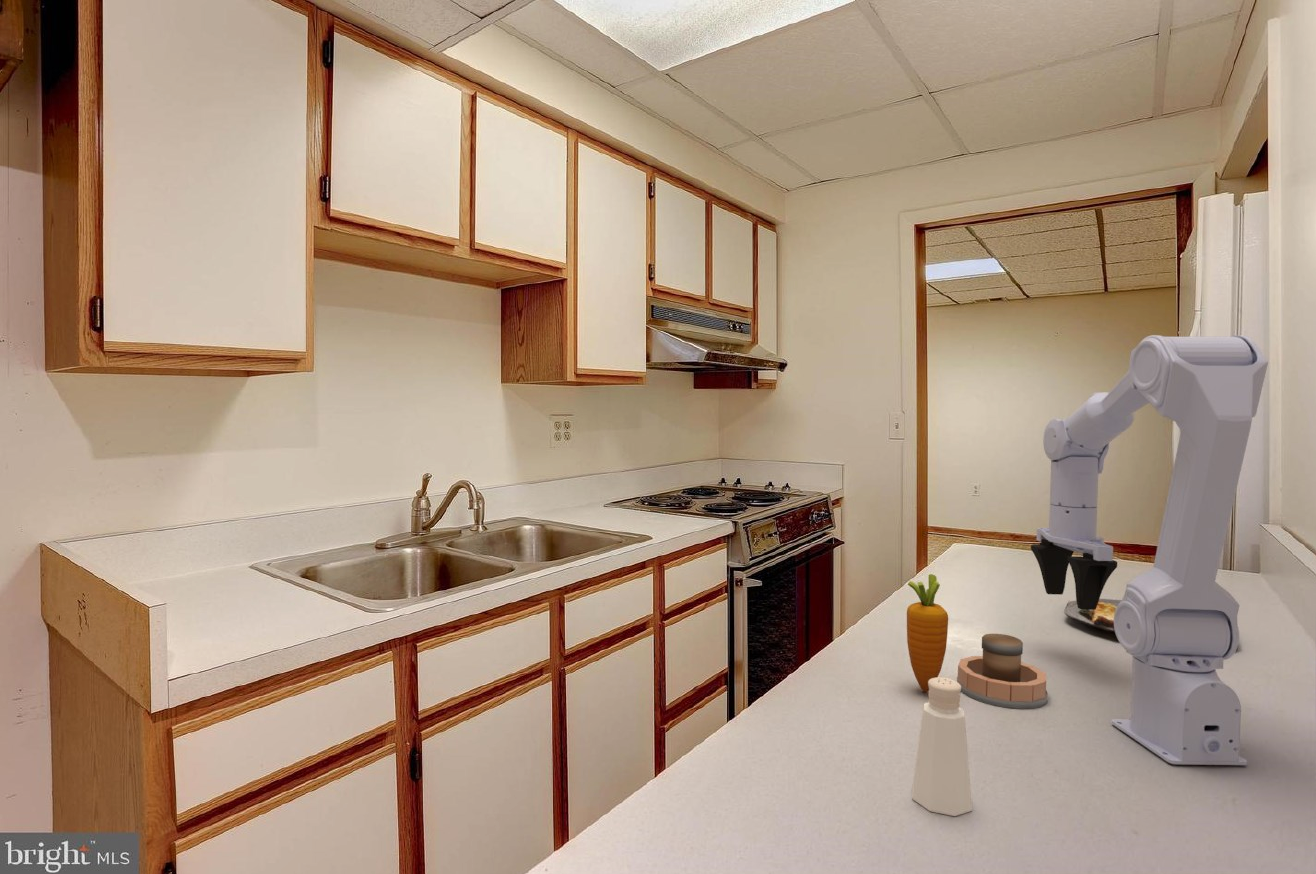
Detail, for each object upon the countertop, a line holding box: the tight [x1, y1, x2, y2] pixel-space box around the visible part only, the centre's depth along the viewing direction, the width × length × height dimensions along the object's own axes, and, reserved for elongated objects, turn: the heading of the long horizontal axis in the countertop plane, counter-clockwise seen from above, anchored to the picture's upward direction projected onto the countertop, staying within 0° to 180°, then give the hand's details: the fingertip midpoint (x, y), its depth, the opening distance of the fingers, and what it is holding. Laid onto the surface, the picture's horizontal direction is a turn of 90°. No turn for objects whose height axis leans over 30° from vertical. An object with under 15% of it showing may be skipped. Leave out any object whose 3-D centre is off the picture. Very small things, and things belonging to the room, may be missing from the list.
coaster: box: [956, 655, 1049, 710], centre depth 88 cm, size 10×10×3 cm
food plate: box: [1063, 598, 1122, 633], centre depth 115 cm, size 25×23×4 cm
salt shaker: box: [911, 676, 973, 817], centre depth 63 cm, size 5×5×11 cm
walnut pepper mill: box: [981, 633, 1024, 682], centre depth 88 cm, size 5×5×6 cm
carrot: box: [906, 573, 949, 693], centre depth 87 cm, size 5×5×15 cm
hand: (1070, 601), depth 96 cm, fingers open, 7 cm apart
